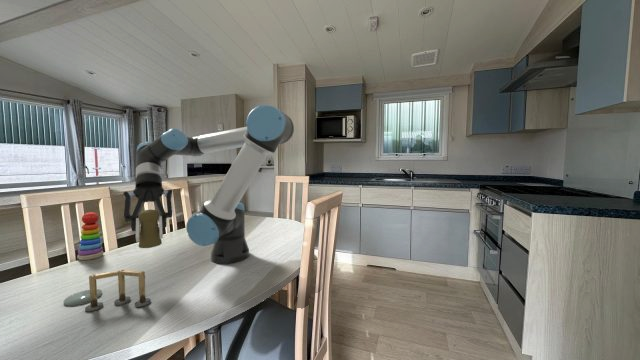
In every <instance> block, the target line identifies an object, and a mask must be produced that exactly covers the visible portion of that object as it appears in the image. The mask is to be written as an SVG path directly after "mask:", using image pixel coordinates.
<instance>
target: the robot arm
mask: <svg viewBox="0 0 640 360" xmlns="http://www.w3.org/2000/svg"><path fill="white" fill-rule="evenodd" d="M245 123H246V126H243V127H238V128H232V129H227V130H223V131H218V132H217V131H216V132H211V133H206V134H201V135H197V136H196V135H195V136H187V135H186V134H185V133H184V132H183V131H181V130H180V129H178V128H170V129H168V130H167V131H165V132H162V134H161V135H159V137H157V138H156V139H154V140H153V141H145V142H141V143H139V144H138V145H137V148H136V152H135V183H134V186H135V187H134V189H133V191H130V192H128V191H124V192H123V193H122V195H123V197H124V211H123V217H124V222H126V223H128V222H131V225H130V229H131V231H132V232H135V241H136V243H139V241H140V230H141V221H140V220H139V214H140V212H142V211H143V210H142V209H143V207H144V205H145V203H148V202H151V203H153V202H154V205H155V206H156V208H157V209H156V210H157V211H158V212H159V218H158V219H159V220H158V227H159V232H160V239H161V240H162V239H164V237H163V236H164V235H163V229H164V228H166V227H167V226H168V225H167V219H169V218H170V219H171V218H172V217H173V205H172V204H173V203H172V197H173V190H172V189H168V190H165V189H164V188H163V179H162V164H163V163H164V162H165V161H167V160H168V159H170V158H171V157H172V156H189V157H190V156H192V157H200V156H204V155H205V154H211V153H216V152H221V151H227V150H232V149H238V148H241V149H240V150H239V152H238V153H237V155H236V157H235V159H234V160H233V162H232V164H231V166H230V168H229V169H228V171H227V173H225V176H224V177H223V179H222V182H221V183H220V184H219V186H218V188H217V190H216V192H215V193H214V195H213V197H212V198H211V199H208V200H206V201H205V202H204V203H203V204H202V206H201V208H200V209H199V211H198V213H195V214H193V215H191V216H190V217H189V218H188V220H187V222H186V227H185V228H186V233H187V236H188V238H189V240H190V241H192V242H193V243H194V244H195V245H198V246H201V247H208V246H211V245H212V248H211V252H210V260H211V261H212V262H213V263H216V264H233V263H238V262H241V261H244V260H246V259H248V257H249V256H250V248H249V246H248V243H247V242H248V241H247V240H246V237H245V227H246V226H245V222H246V221H245V220H246V219H245V212H246V211H245V205H244V204H243V202H241V200H242V199H243V197H244V195H245V194H246V192H247V190H248V188H249V186H250V185H251V184H252V181H253V179H255V177H256V175H257V173H258V172H259V171H260V168H261V167H262V165H263V163H264V162H265V160H266V158H267V157H268V155H273V154H274V153H275V152H276V150H277V149H278V147H279V146H280V145H282V144H285V143H287V142H289V141H290V140H291V139H292V138H293V135H294V132H295V126H294V122H293V120H292V119H291V117H290V116H288V114H286V113H284V112H283V111H282V110H280V108H277V106H276V107H275V106H272V105H270V104H261V105H258V106H255V107H254V108H253V109H252V110H251V111H250V112H249V113H248V115H247V117H246V122H245ZM163 195H164V197H165V198H166V209H167V212H166V211H165V208H164V207H163V204H162V202H161V200H160V198H161V197H162V196H163ZM134 196H135V198H137V202H136V205H135V206H134V210H133V212H132V215H131V206H132V199H133V198H134Z"/></svg>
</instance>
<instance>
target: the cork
mask: <svg viewBox="0 0 640 360" xmlns="http://www.w3.org/2000/svg"><path fill="white" fill-rule="evenodd" d="M159 216H160V214H159V211H158V209H146V210H141V212H140V214H139V217H138V218H139V221H140V241H139V242H138V248H140V249H150V248H155V247H158V246H161V245H162V243H163V242H162V238H161V239H160V230H159V220H158V219H159Z"/></svg>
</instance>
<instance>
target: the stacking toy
mask: <svg viewBox="0 0 640 360" xmlns="http://www.w3.org/2000/svg"><path fill="white" fill-rule="evenodd" d="M99 218H100V217H99V215H98V214H97V213H96V212H93V211H89V212H86V213H84V214H83V215H82V217H81V222H82V223H83V225H82V226H81V229H82V230H81V231H80V233H81V235H80V240H79V245H78V251H77V259H78V260H79V261H89V260H94V259H95V260H96V259H98V258H100V257H102V256H103V255H104V251H103V243H102V241H101V240H102V238H101V237H100V236H101V233H100V228H99V227H100V225H99V224H98V223H97V222H98V221H99Z"/></svg>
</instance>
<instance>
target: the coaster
mask: <svg viewBox="0 0 640 360" xmlns="http://www.w3.org/2000/svg"><path fill="white" fill-rule="evenodd" d="M102 294H103V291H102V290H101V289H100V288H99V289H98V288H97V299H99V298H100V297H101V296H102ZM88 303H90V289H86V290H82V291H79V292H76V293H73V294H71V295H68V296H67V297H66V298H65V299H64V300H63V305H64V306H65V307H77V306H81V305H85V304H88Z"/></svg>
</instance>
